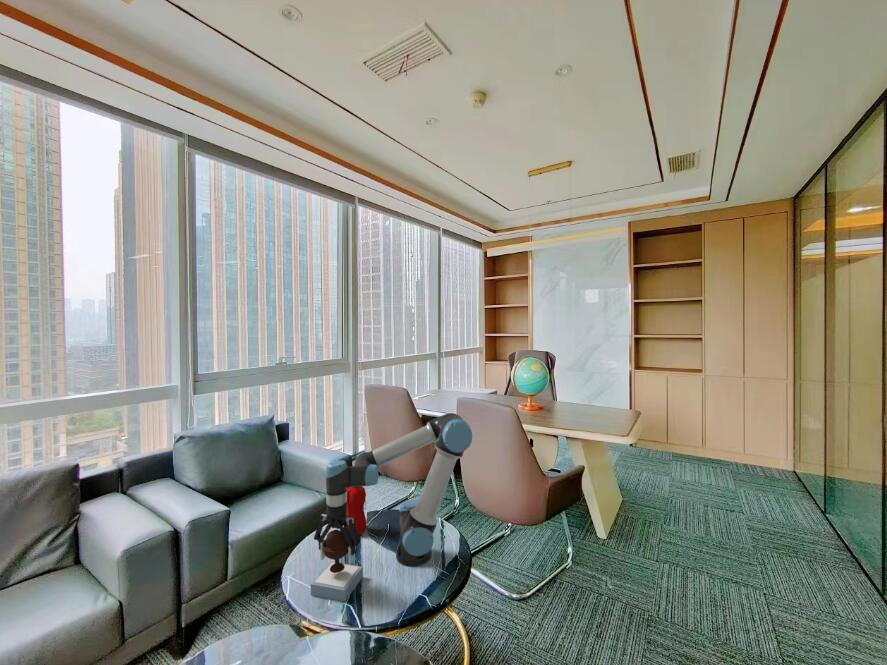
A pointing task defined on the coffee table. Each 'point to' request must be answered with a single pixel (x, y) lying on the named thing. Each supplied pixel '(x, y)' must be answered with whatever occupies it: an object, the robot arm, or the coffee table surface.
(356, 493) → the water bottle
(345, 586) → the base plinth
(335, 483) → the robot arm
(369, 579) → the coffee table surface
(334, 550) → the ice cream bowl
